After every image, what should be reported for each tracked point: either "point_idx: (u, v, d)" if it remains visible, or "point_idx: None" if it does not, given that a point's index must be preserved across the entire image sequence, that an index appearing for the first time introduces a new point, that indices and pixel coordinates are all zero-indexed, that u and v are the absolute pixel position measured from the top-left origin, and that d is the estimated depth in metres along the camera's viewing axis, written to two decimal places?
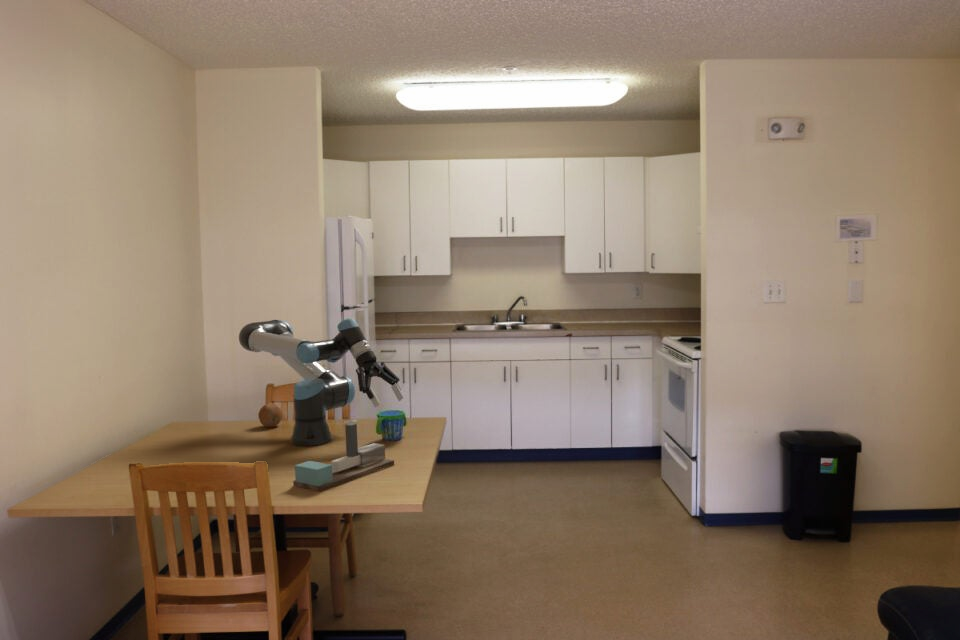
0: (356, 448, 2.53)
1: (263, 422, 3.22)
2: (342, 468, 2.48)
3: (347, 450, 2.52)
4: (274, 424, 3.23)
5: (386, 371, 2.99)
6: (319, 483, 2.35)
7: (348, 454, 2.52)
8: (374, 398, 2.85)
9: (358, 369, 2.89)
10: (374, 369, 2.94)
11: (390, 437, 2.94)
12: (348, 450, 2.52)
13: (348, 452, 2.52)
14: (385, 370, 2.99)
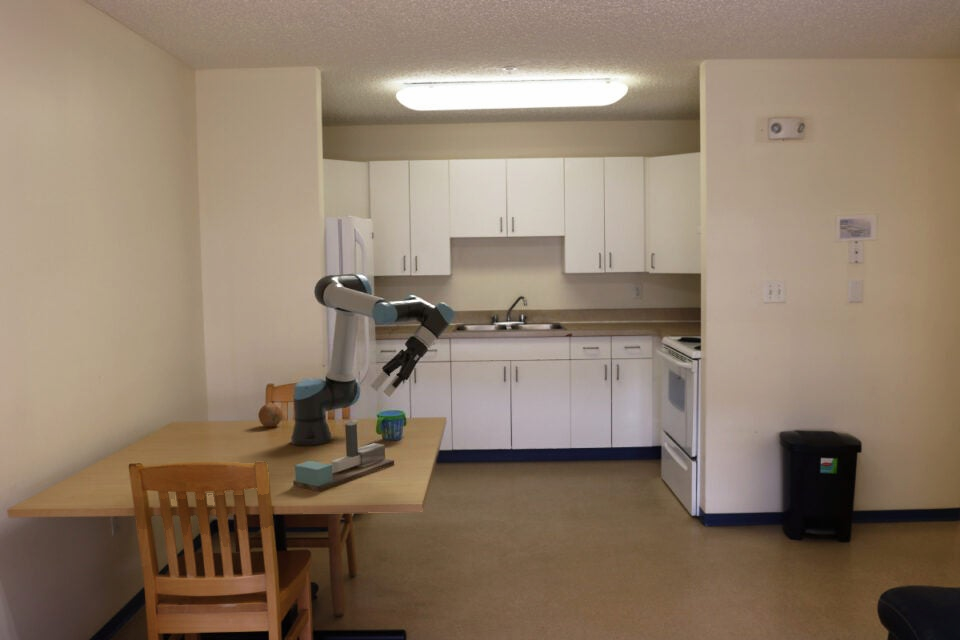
0: (356, 448, 2.53)
1: (263, 422, 3.22)
2: (342, 468, 2.48)
3: (347, 450, 2.52)
4: (274, 424, 3.23)
5: None
6: (319, 483, 2.35)
7: (348, 454, 2.52)
8: (393, 389, 2.50)
9: (417, 357, 2.54)
10: None
11: (390, 437, 2.94)
12: (348, 450, 2.52)
13: (348, 452, 2.52)
14: None
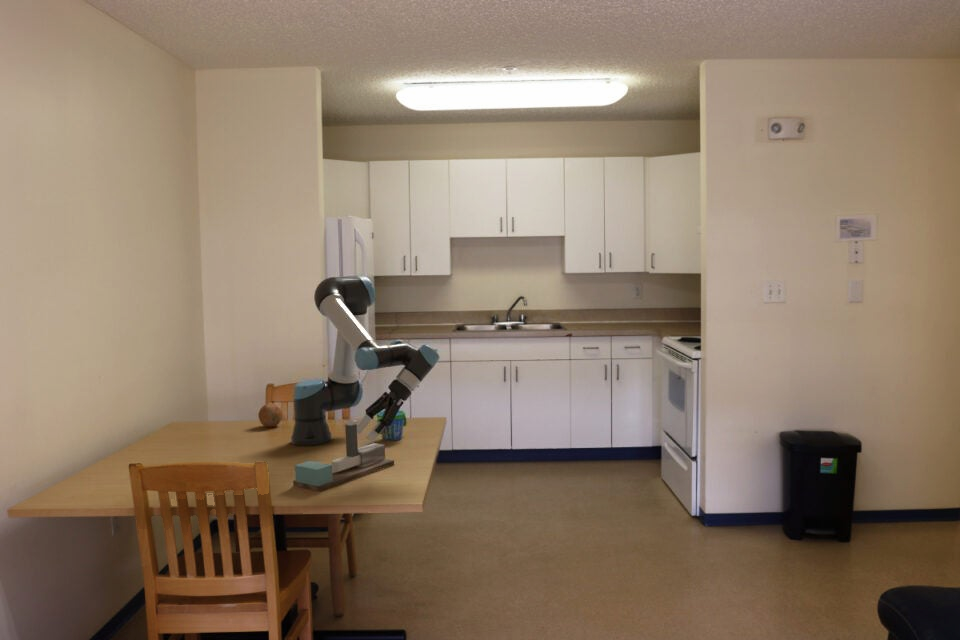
0: (356, 448, 2.53)
1: (263, 422, 3.22)
2: (342, 468, 2.48)
3: (347, 450, 2.52)
4: (274, 424, 3.23)
5: None
6: (319, 483, 2.35)
7: (348, 454, 2.52)
8: (376, 434, 2.48)
9: (400, 402, 2.51)
10: None
11: (390, 437, 2.94)
12: (348, 450, 2.52)
13: (348, 452, 2.52)
14: (382, 402, 2.62)
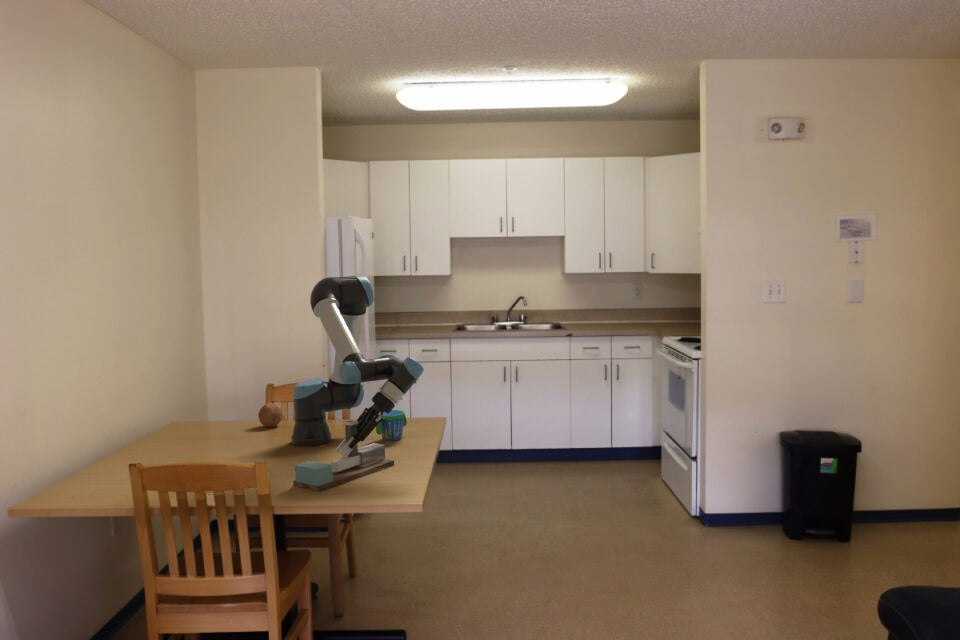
0: (356, 448, 2.53)
1: (263, 422, 3.22)
2: (342, 468, 2.48)
3: None
4: (274, 424, 3.23)
5: None
6: (319, 483, 2.35)
7: None
8: (349, 450, 2.50)
9: (379, 419, 2.50)
10: None
11: (390, 437, 2.94)
12: None
13: None
14: None
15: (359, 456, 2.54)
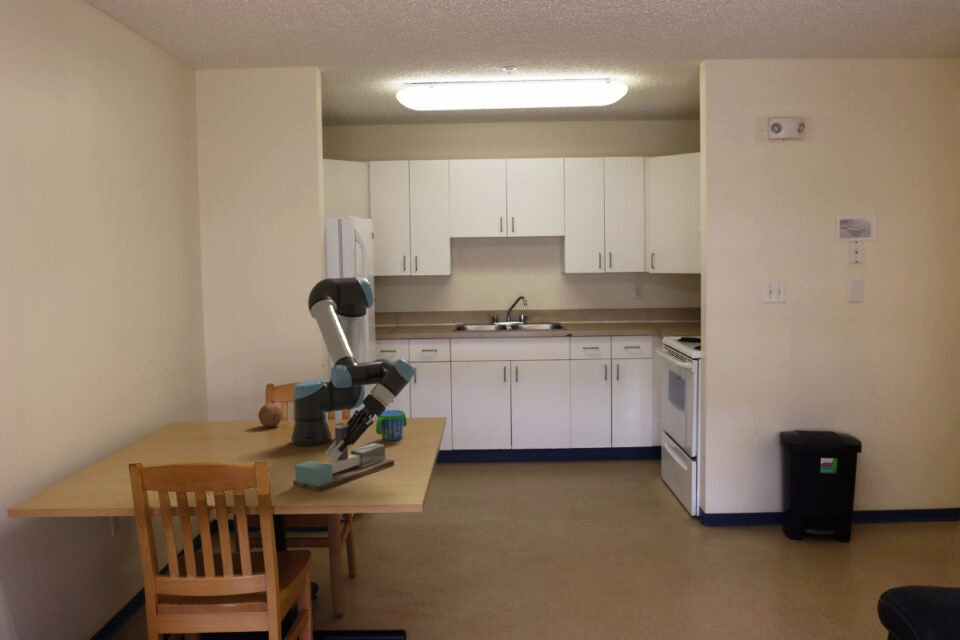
0: (346, 451, 2.49)
1: (263, 422, 3.22)
2: (332, 472, 2.44)
3: None
4: (274, 424, 3.23)
5: None
6: (319, 483, 2.35)
7: None
8: (339, 453, 2.46)
9: (369, 422, 2.46)
10: None
11: (390, 437, 2.94)
12: None
13: None
14: None
15: (349, 459, 2.50)
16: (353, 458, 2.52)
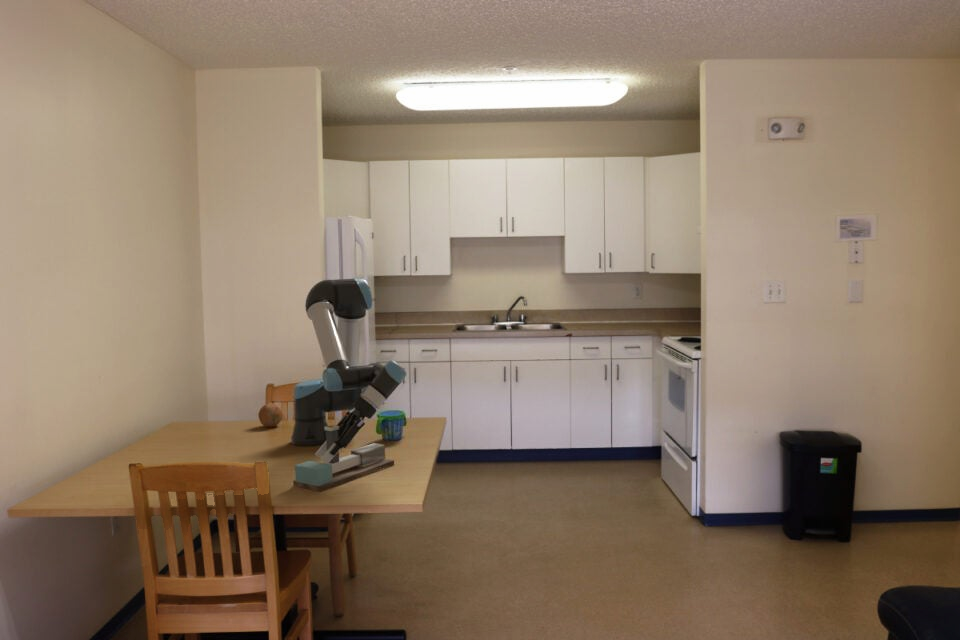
0: (337, 454, 2.46)
1: (263, 422, 3.22)
2: None
3: None
4: (274, 424, 3.23)
5: None
6: (319, 483, 2.35)
7: None
8: (331, 456, 2.42)
9: (361, 424, 2.42)
10: None
11: (390, 437, 2.94)
12: None
13: None
14: None
15: (340, 462, 2.47)
16: (344, 461, 2.48)
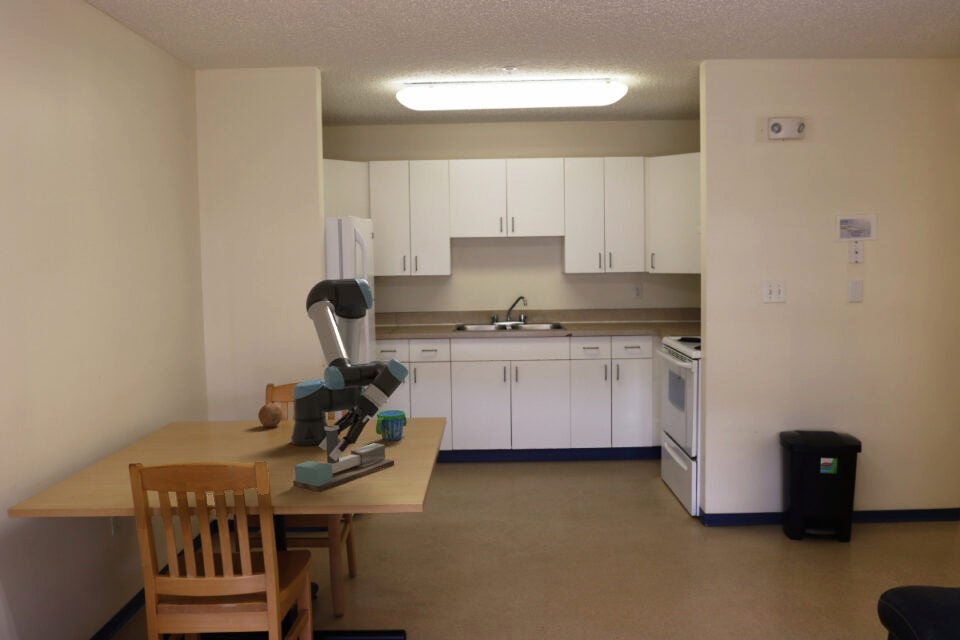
0: None
1: (263, 422, 3.22)
2: None
3: (328, 456, 2.45)
4: (274, 424, 3.23)
5: None
6: (319, 483, 2.35)
7: (329, 460, 2.45)
8: (340, 452, 2.39)
9: (366, 419, 2.42)
10: None
11: (390, 437, 2.94)
12: (329, 456, 2.45)
13: (329, 458, 2.45)
14: None
15: (340, 462, 2.47)
16: (344, 461, 2.48)
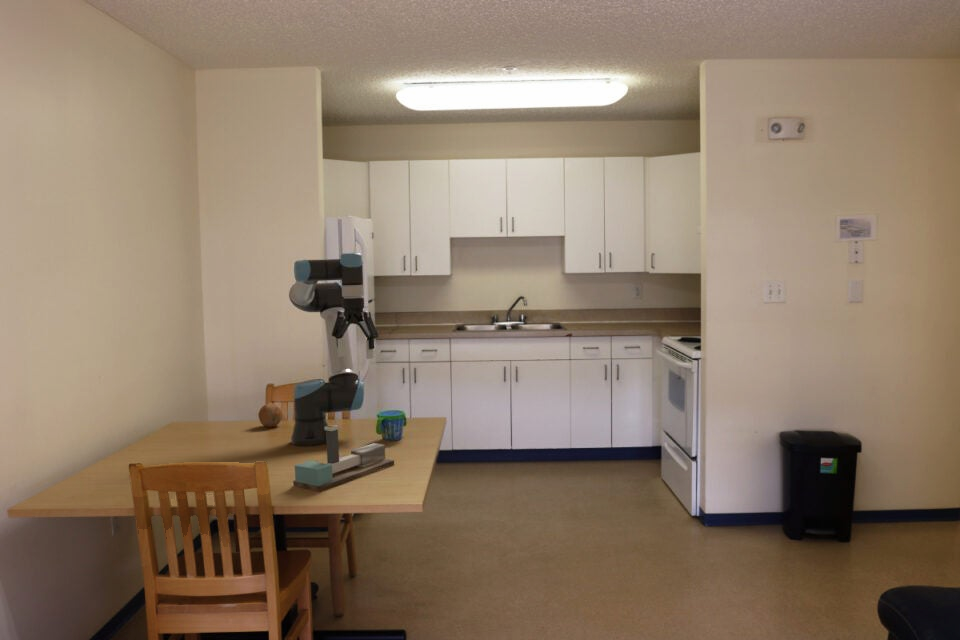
0: (337, 454, 2.46)
1: (263, 422, 3.22)
2: None
3: (328, 456, 2.45)
4: (274, 424, 3.23)
5: (341, 321, 2.76)
6: (319, 483, 2.35)
7: (329, 460, 2.45)
8: (371, 350, 2.70)
9: (368, 313, 2.68)
10: None
11: (390, 437, 2.94)
12: (329, 456, 2.45)
13: (329, 458, 2.45)
14: (341, 320, 2.76)
15: (340, 462, 2.47)
16: (344, 461, 2.48)
